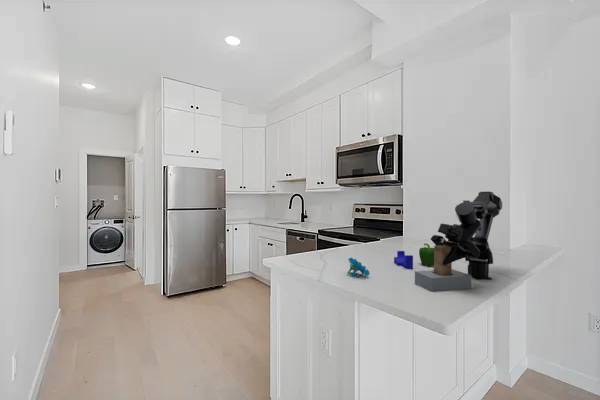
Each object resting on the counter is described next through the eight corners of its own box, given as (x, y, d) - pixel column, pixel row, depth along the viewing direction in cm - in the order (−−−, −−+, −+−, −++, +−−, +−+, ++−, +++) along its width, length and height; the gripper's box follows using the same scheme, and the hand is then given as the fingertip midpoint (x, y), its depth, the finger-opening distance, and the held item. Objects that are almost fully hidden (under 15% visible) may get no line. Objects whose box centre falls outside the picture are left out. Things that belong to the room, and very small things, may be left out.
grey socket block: (451, 280, 113) (451, 269, 113) (471, 288, 104) (471, 275, 104) (414, 283, 109) (414, 271, 109) (432, 291, 100) (432, 278, 100)
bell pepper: (442, 266, 135) (443, 245, 135) (426, 267, 134) (426, 245, 134) (431, 262, 144) (432, 242, 144) (416, 263, 142) (416, 242, 142)
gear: (375, 274, 116) (357, 256, 115) (366, 286, 114) (348, 268, 113) (361, 271, 126) (345, 255, 125) (353, 282, 125) (336, 266, 124)
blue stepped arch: (394, 263, 143) (394, 250, 143) (403, 263, 143) (403, 250, 143) (402, 269, 131) (402, 255, 131) (412, 269, 131) (413, 255, 131)
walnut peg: (443, 279, 109) (443, 245, 109) (451, 282, 105) (451, 247, 105) (434, 279, 108) (434, 245, 108) (441, 283, 104) (441, 247, 104)
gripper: (434, 214, 116) (409, 243, 114) (473, 217, 98) (444, 252, 96) (451, 233, 118) (427, 262, 116) (492, 240, 100) (464, 275, 98)
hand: (439, 262), depth 106 cm, fingers closed on walnut peg, 4 cm apart
